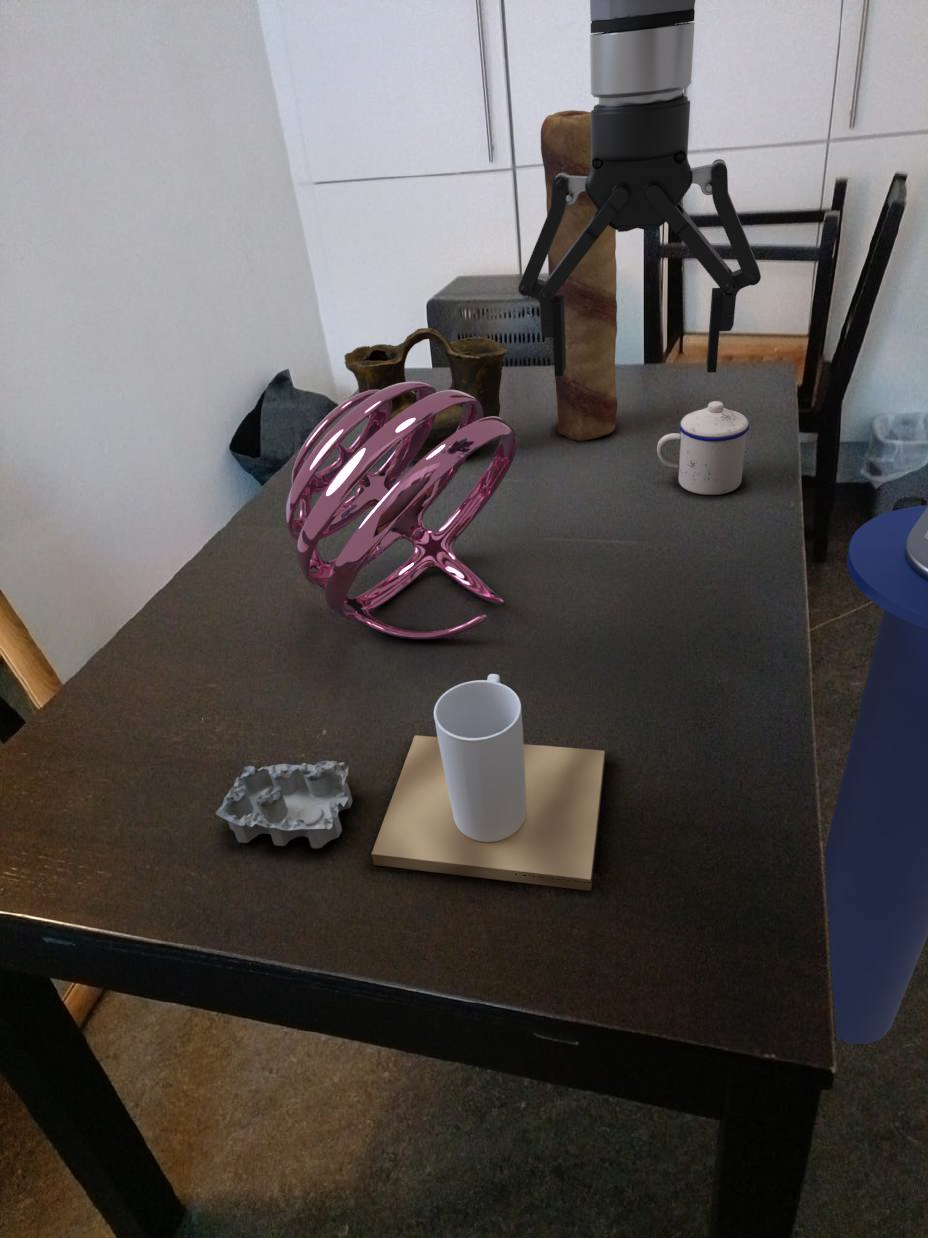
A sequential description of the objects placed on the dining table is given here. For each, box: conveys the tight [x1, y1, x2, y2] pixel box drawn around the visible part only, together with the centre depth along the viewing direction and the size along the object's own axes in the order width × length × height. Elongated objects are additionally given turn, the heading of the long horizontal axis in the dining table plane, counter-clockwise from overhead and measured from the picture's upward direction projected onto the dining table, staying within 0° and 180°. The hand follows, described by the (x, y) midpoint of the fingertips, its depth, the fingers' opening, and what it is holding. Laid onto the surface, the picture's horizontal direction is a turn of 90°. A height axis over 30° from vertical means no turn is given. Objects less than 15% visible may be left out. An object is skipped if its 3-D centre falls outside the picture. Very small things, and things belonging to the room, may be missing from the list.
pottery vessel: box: [343, 327, 508, 463], centre depth 128 cm, size 25×11×20 cm, turn 89°
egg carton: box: [215, 760, 354, 849], centre depth 73 cm, size 11×8×4 cm
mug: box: [433, 673, 526, 842], centre depth 68 cm, size 10×7×12 cm, turn 165°
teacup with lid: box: [656, 400, 750, 496], centre depth 113 cm, size 12×9×12 cm
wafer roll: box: [540, 109, 618, 442], centre depth 123 cm, size 10×11×45 cm
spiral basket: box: [285, 381, 519, 641], centre depth 91 cm, size 28×28×27 cm
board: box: [370, 734, 606, 892], centre depth 71 cm, size 18×14×2 cm
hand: (634, 369), depth 75 cm, fingers open, 13 cm apart
